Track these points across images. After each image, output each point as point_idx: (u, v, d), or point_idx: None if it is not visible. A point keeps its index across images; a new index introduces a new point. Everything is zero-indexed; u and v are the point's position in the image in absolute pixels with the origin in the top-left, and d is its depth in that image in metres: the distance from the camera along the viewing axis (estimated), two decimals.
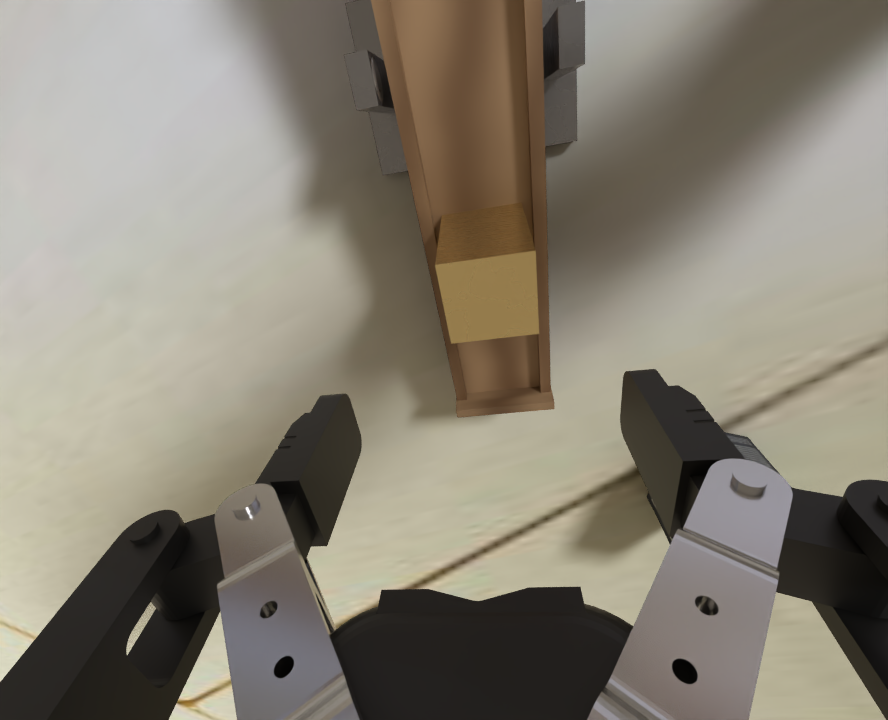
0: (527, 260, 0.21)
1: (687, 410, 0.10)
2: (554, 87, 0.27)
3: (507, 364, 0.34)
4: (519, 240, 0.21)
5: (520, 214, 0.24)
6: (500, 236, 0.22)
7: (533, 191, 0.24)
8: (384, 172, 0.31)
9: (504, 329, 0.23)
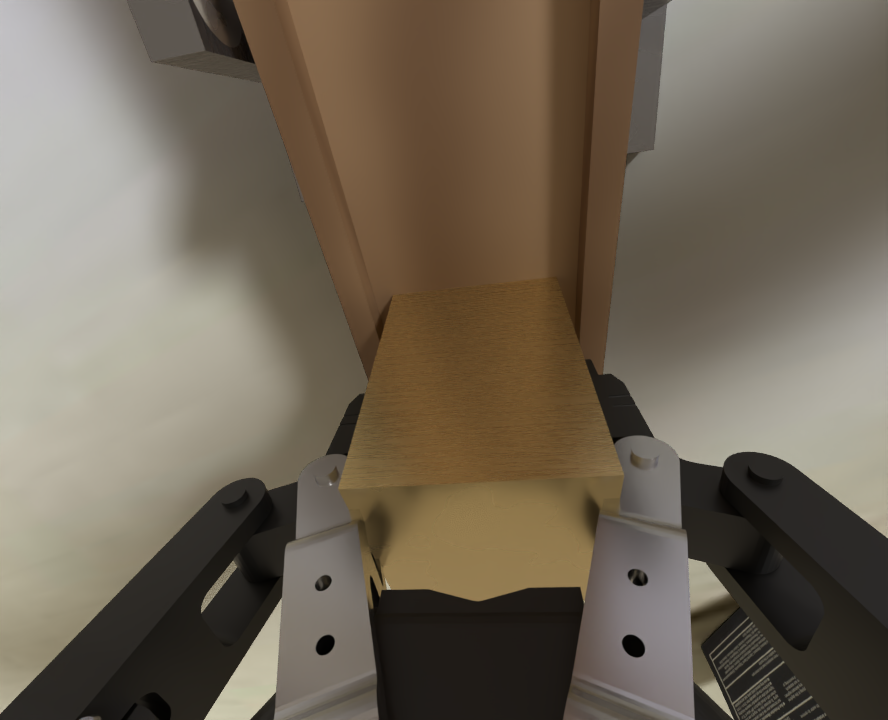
0: (596, 492, 0.07)
1: (613, 396, 0.11)
2: None
3: None
4: (569, 414, 0.08)
5: (558, 313, 0.11)
6: (516, 387, 0.09)
7: (587, 260, 0.11)
8: None
9: None
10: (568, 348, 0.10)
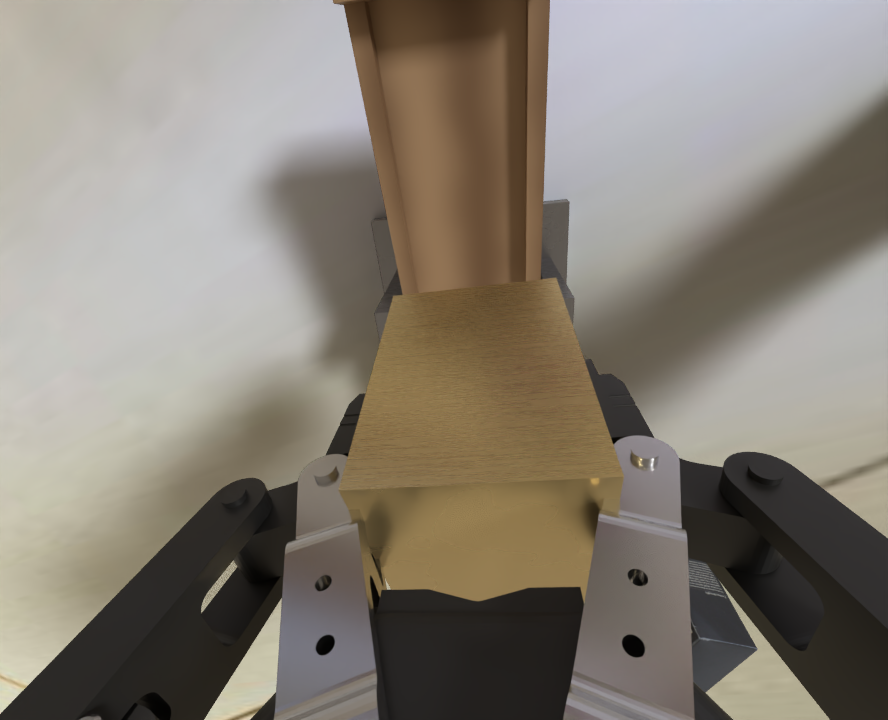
0: (595, 493, 0.07)
1: (613, 396, 0.11)
2: None
3: None
4: (569, 415, 0.08)
5: (558, 314, 0.11)
6: (517, 389, 0.09)
7: None
8: None
9: None
10: (568, 349, 0.10)
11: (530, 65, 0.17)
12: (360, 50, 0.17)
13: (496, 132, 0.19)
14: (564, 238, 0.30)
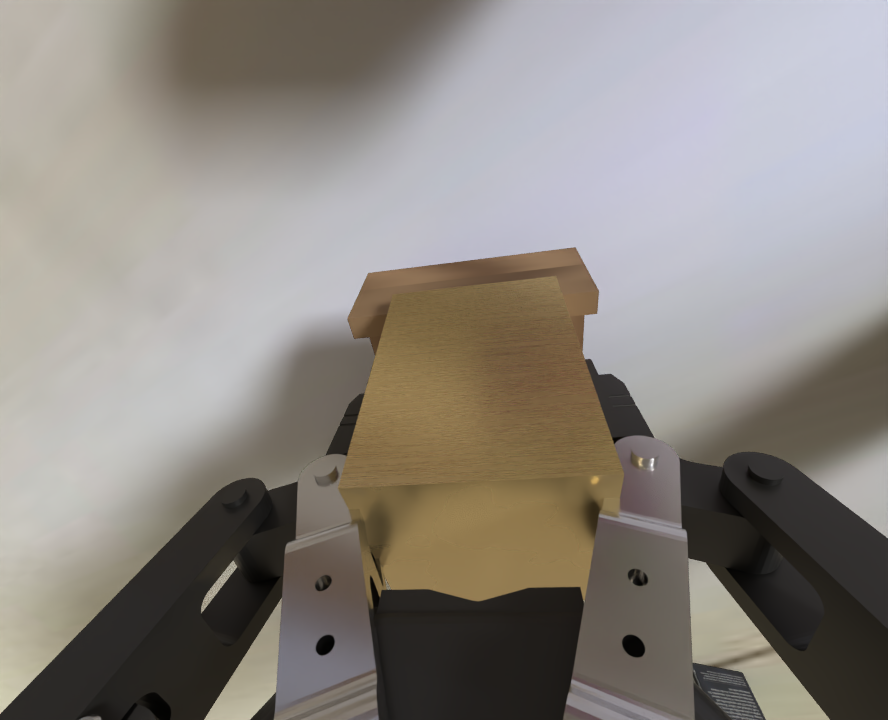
0: (596, 491, 0.07)
1: (613, 396, 0.11)
2: None
3: None
4: (569, 413, 0.08)
5: (558, 312, 0.11)
6: (516, 387, 0.09)
7: None
8: None
9: None
10: (568, 347, 0.10)
11: None
12: None
13: None
14: None
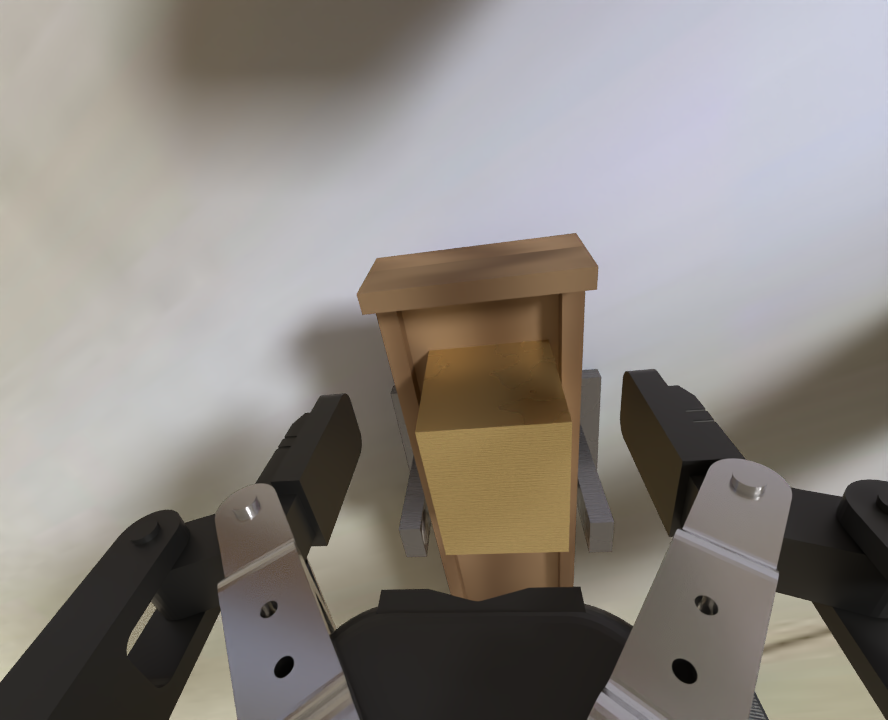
0: None
1: (687, 410, 0.10)
2: None
3: None
4: (552, 530, 0.16)
5: (563, 465, 0.14)
6: (526, 517, 0.16)
7: None
8: None
9: None
10: (562, 495, 0.15)
11: (564, 343, 0.16)
12: (388, 332, 0.16)
13: None
14: (595, 408, 0.28)
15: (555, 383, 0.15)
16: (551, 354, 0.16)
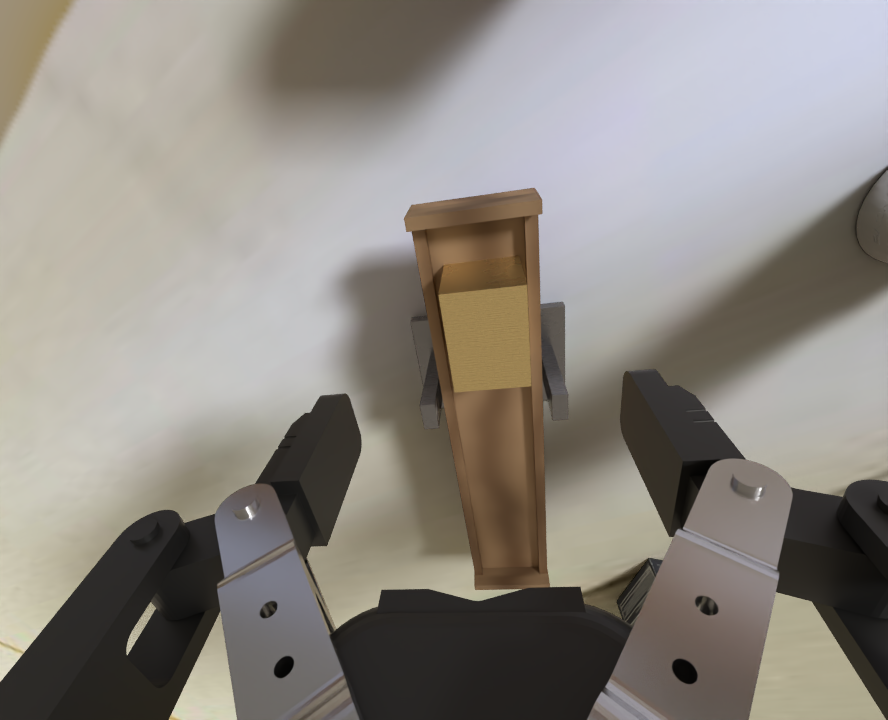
0: None
1: (687, 410, 0.10)
2: None
3: (514, 552, 0.45)
4: (520, 368, 0.26)
5: (524, 316, 0.24)
6: (504, 358, 0.26)
7: (536, 467, 0.36)
8: None
9: None
10: (524, 339, 0.25)
11: (527, 255, 0.26)
12: (419, 248, 0.27)
13: None
14: (562, 331, 0.38)
15: (520, 272, 0.25)
16: (519, 261, 0.26)
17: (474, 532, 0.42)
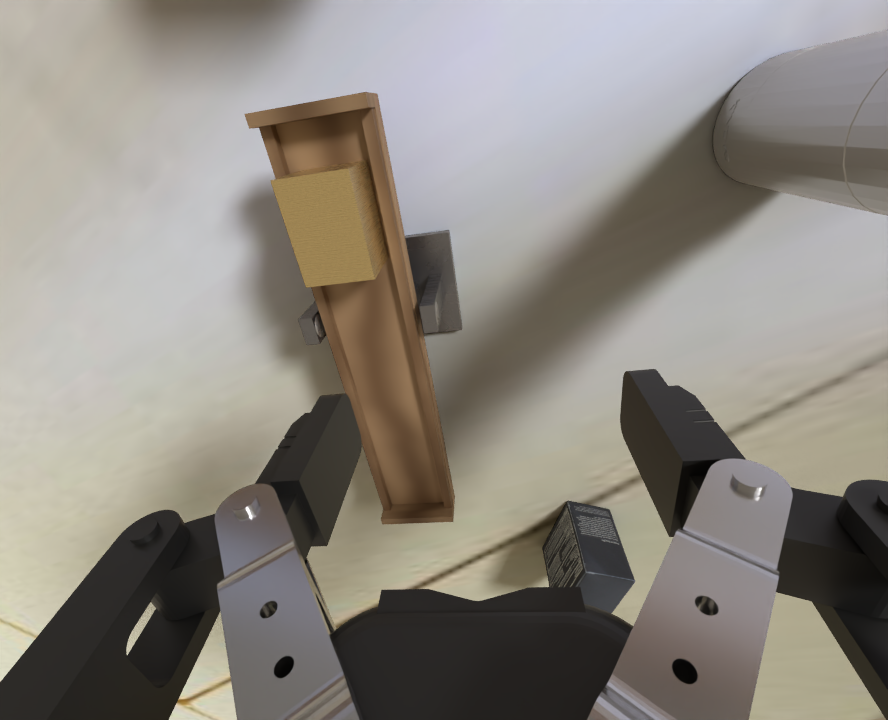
0: None
1: (687, 410, 0.10)
2: (443, 300, 0.42)
3: (419, 486, 0.46)
4: (360, 259, 0.28)
5: (352, 202, 0.26)
6: (344, 249, 0.27)
7: (419, 387, 0.38)
8: None
9: None
10: (358, 227, 0.27)
11: (370, 155, 0.28)
12: (270, 150, 0.28)
13: None
14: (449, 259, 0.40)
15: (353, 165, 0.27)
16: (362, 161, 0.28)
17: (374, 461, 0.43)
